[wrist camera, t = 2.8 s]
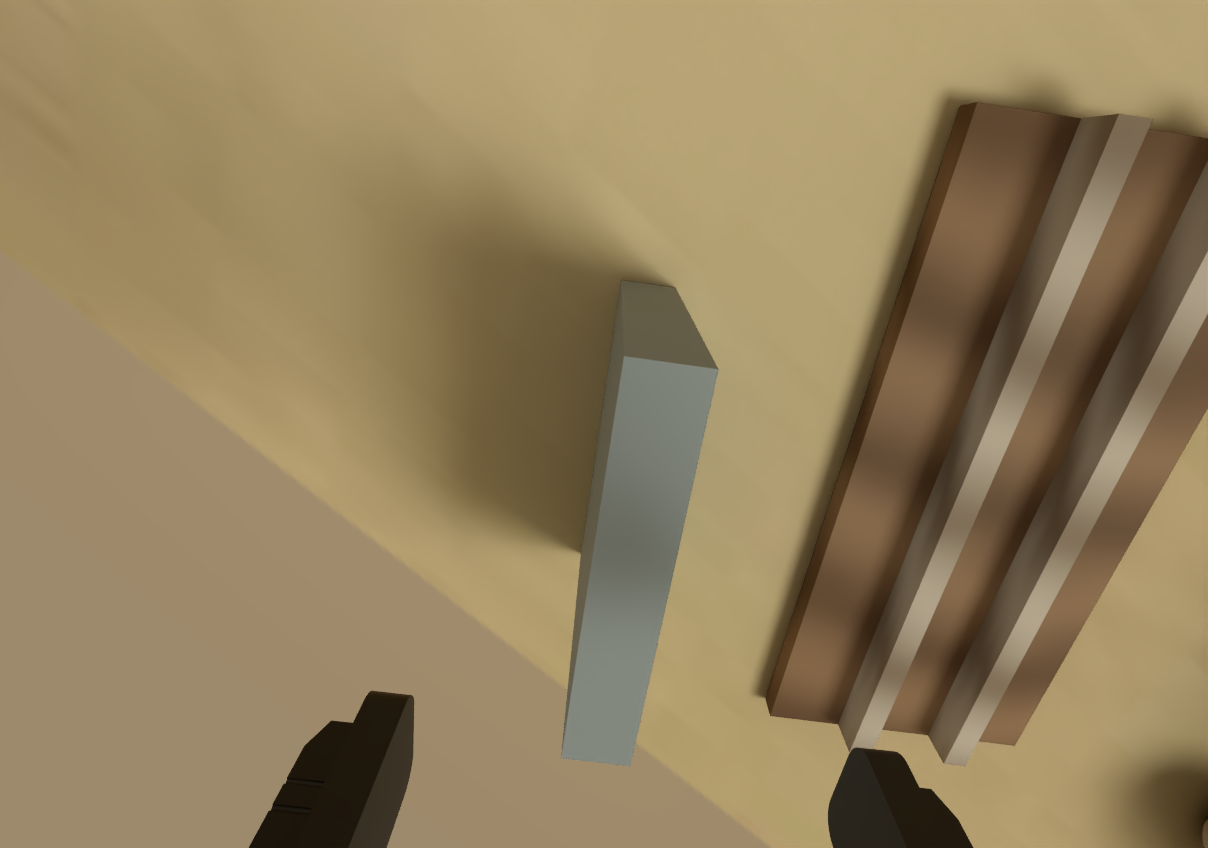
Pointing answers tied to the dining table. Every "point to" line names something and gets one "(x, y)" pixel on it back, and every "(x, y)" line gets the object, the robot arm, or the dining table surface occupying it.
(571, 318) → the dining table surface
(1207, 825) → the beige flat disc
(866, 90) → the dining table surface
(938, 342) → the floor track
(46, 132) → the dining table surface
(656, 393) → the door panel
